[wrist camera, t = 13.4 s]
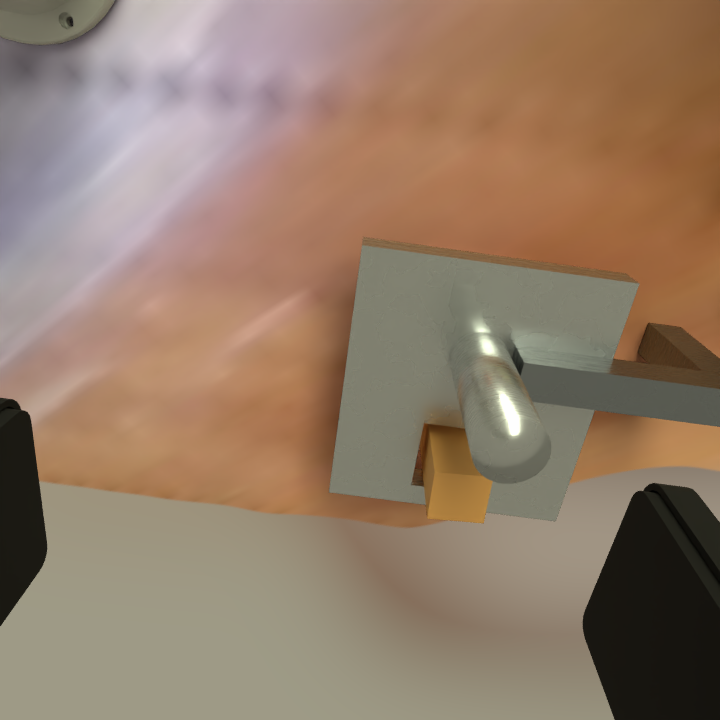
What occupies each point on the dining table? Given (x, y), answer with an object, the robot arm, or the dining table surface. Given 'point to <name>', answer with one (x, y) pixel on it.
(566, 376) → the bracket
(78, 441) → the dining table surface
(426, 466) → the mustard rectangular block
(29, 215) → the dining table surface
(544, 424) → the grey metal piece
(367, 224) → the dining table surface
